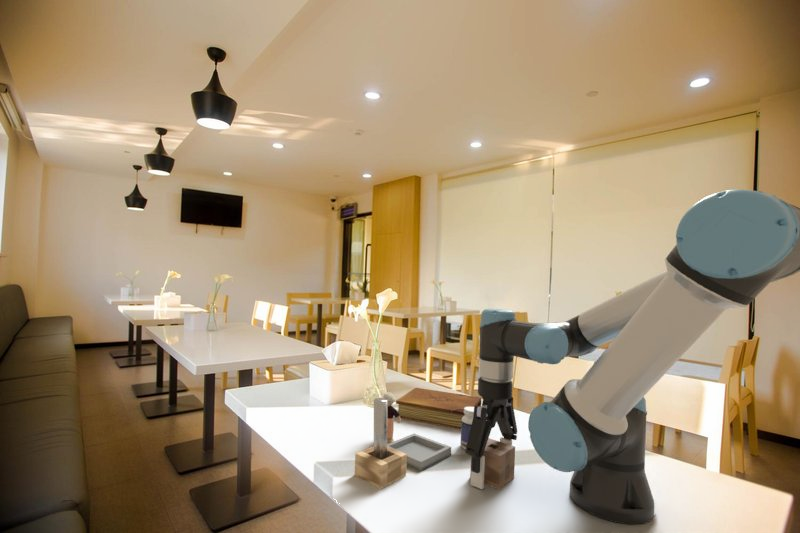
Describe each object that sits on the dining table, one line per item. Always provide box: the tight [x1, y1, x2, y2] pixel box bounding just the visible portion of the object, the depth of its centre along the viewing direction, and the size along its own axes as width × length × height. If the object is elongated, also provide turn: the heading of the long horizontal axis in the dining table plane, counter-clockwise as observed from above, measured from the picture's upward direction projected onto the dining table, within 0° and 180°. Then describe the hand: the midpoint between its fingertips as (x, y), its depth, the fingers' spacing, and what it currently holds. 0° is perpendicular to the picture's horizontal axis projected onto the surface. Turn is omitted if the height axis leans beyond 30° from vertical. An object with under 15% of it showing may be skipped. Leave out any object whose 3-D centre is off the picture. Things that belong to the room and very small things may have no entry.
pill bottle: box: [460, 407, 474, 450], centre depth 108 cm, size 6×6×10 cm
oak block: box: [354, 445, 408, 490], centre depth 90 cm, size 8×8×5 cm
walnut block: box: [469, 437, 516, 490], centre depth 91 cm, size 7×7×7 cm
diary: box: [395, 387, 482, 430], centre depth 132 cm, size 23×19×6 cm
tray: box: [387, 433, 452, 472], centre depth 101 cm, size 12×12×2 cm
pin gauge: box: [373, 397, 388, 460], centre depth 90 cm, size 3×3×16 cm
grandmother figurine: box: [382, 392, 402, 444], centre depth 110 cm, size 8×4×13 cm, turn 70°
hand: (491, 476), depth 91 cm, fingers open, 12 cm apart
